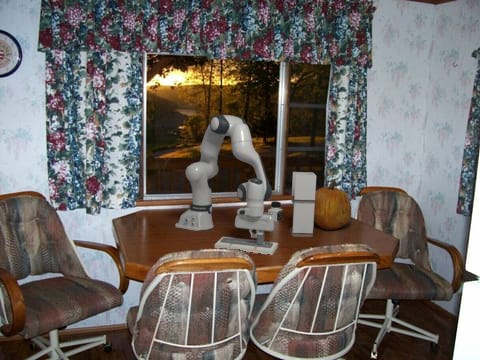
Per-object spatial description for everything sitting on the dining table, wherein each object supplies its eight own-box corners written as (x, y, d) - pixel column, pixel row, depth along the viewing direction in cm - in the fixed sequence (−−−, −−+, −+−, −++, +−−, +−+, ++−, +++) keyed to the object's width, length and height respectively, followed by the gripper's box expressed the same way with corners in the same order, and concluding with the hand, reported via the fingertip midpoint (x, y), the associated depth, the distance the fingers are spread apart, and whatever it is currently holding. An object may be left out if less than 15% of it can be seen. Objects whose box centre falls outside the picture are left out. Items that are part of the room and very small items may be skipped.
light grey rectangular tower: (309, 231, 264) (312, 172, 258) (312, 236, 254) (316, 175, 248) (289, 230, 264) (292, 172, 258) (292, 236, 253) (295, 175, 247)
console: (214, 248, 229) (214, 242, 229) (223, 240, 242) (223, 234, 242) (272, 255, 221) (272, 249, 221) (277, 246, 234) (278, 241, 234)
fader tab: (255, 246, 228) (256, 233, 226) (257, 243, 232) (258, 230, 231) (263, 246, 226) (263, 234, 225) (265, 244, 231) (266, 231, 230)
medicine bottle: (276, 222, 282) (277, 203, 280) (267, 220, 286) (268, 201, 284) (282, 220, 288) (283, 201, 285) (273, 218, 292) (274, 200, 290)
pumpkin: (322, 219, 291) (325, 174, 286) (355, 226, 277) (359, 179, 272) (301, 227, 271) (304, 178, 266) (335, 235, 257) (339, 184, 252)
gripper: (276, 211, 227) (275, 238, 230) (237, 208, 233) (237, 233, 235) (274, 214, 221) (272, 241, 224) (234, 210, 227) (233, 237, 229)
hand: (254, 237), depth 230 cm, fingers closed
